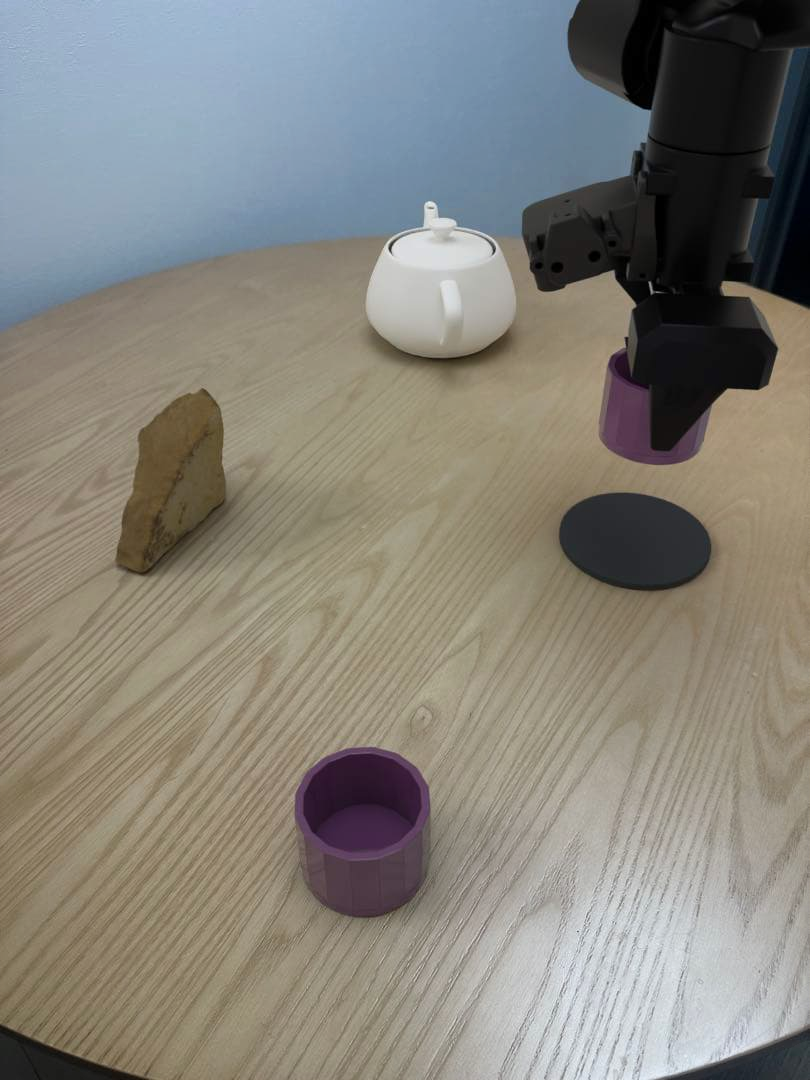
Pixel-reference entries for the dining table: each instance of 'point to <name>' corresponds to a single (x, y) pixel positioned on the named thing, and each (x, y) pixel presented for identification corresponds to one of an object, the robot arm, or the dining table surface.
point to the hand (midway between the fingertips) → (654, 418)
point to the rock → (173, 479)
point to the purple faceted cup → (363, 830)
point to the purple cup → (638, 419)
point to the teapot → (441, 290)
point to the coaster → (635, 541)
